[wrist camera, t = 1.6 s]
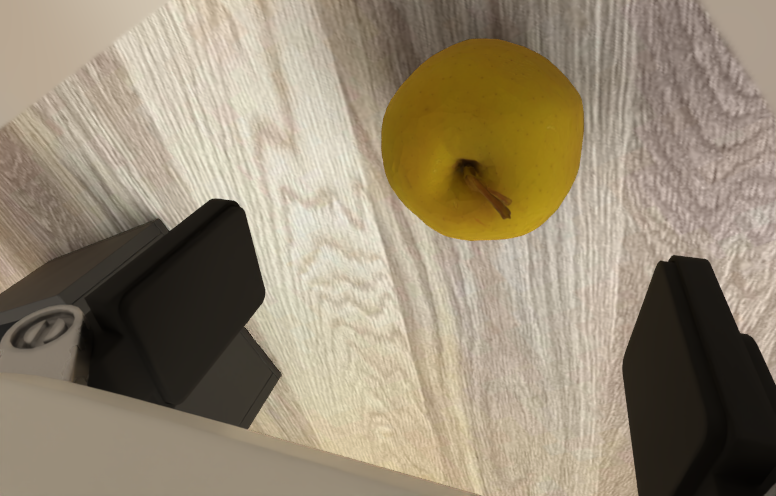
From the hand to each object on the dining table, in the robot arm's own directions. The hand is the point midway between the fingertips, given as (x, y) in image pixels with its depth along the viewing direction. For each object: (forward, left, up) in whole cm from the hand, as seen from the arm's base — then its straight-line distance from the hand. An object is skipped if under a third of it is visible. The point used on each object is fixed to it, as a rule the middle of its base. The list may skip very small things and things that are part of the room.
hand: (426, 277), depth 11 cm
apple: (-1, 0, -11) cm, 11 cm away
